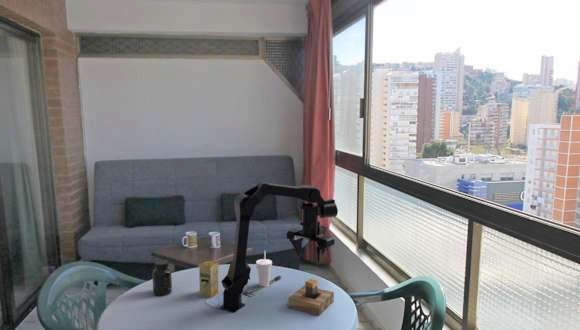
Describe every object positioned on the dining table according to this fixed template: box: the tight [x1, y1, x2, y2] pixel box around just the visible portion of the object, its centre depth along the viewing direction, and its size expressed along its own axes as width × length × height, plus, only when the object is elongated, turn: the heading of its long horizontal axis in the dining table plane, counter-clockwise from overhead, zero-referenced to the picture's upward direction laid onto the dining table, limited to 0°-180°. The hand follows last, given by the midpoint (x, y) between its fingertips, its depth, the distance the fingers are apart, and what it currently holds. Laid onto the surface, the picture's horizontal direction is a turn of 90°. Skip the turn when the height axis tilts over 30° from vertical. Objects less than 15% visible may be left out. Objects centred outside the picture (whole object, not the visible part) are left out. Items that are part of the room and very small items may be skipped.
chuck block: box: [288, 285, 335, 316], centre depth 147 cm, size 12×12×4 cm
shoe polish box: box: [198, 260, 219, 299], centre depth 154 cm, size 5×5×12 cm
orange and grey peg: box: [304, 278, 319, 299], centre depth 147 cm, size 3×3×8 cm
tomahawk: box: [242, 275, 282, 298], centre depth 161 cm, size 21×7×1 cm, turn 141°
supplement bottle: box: [152, 259, 173, 297], centre depth 155 cm, size 7×7×12 cm
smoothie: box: [255, 250, 273, 288], centre depth 162 cm, size 6×6×14 cm
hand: (309, 259), depth 155 cm, fingers open, 9 cm apart
